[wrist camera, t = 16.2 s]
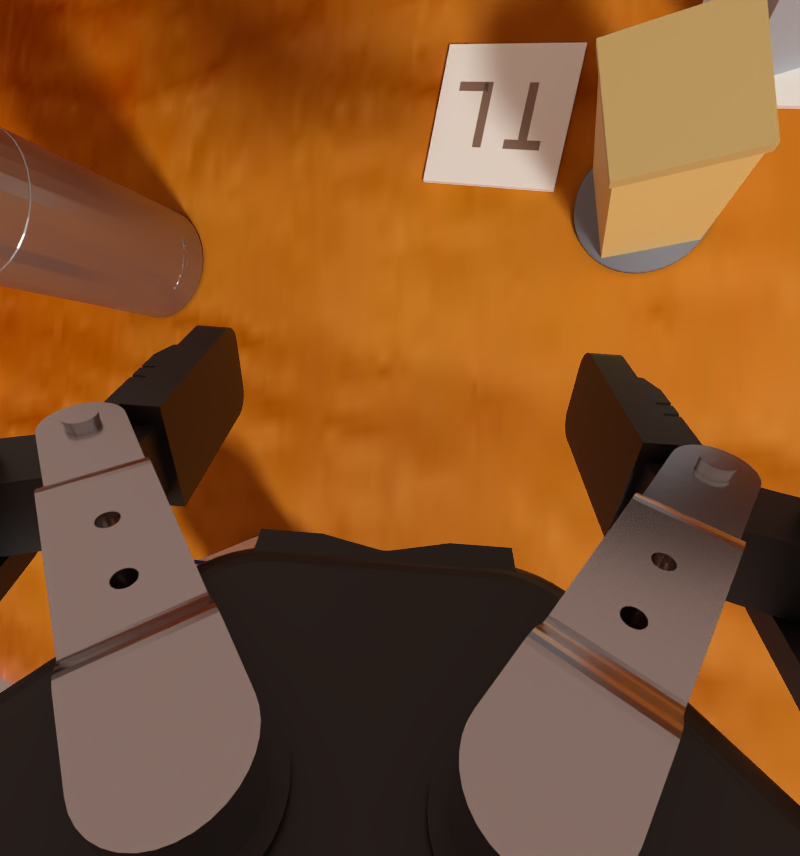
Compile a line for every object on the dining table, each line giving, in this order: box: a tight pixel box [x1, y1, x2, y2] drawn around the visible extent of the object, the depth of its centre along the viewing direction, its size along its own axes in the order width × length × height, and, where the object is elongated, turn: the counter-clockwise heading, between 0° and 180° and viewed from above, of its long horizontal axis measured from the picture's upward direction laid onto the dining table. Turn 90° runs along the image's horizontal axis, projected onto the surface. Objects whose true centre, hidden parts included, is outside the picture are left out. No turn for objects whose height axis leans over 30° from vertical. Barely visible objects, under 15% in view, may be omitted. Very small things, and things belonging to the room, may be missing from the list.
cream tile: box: [423, 42, 587, 192], centre depth 34 cm, size 9×9×1 cm
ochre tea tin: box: [593, 0, 780, 258], centre depth 25 cm, size 6×6×12 cm
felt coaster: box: [574, 167, 708, 273], centre depth 31 cm, size 8×8×1 cm
